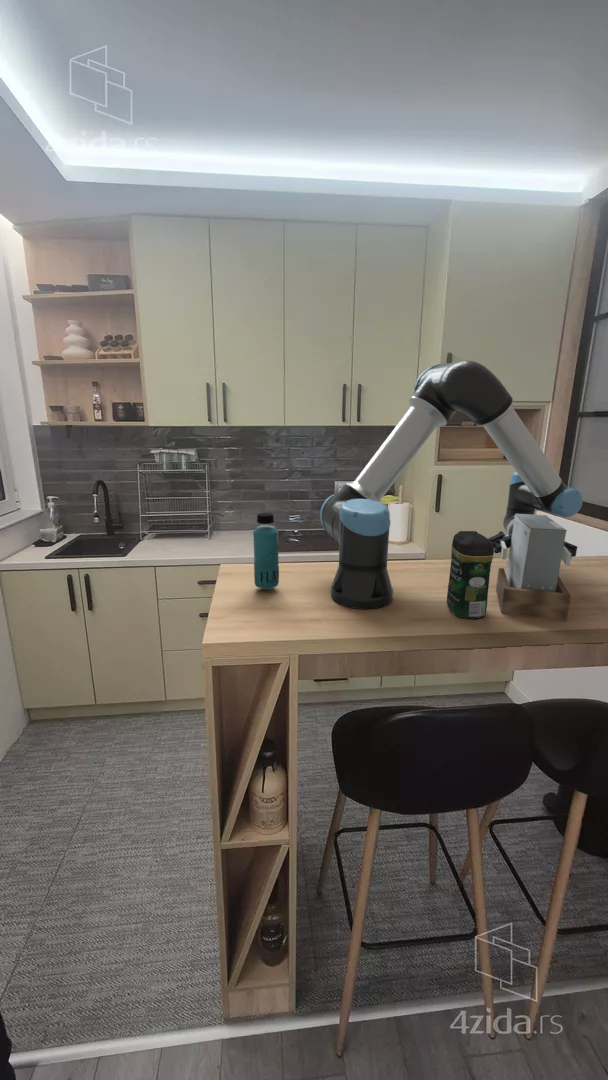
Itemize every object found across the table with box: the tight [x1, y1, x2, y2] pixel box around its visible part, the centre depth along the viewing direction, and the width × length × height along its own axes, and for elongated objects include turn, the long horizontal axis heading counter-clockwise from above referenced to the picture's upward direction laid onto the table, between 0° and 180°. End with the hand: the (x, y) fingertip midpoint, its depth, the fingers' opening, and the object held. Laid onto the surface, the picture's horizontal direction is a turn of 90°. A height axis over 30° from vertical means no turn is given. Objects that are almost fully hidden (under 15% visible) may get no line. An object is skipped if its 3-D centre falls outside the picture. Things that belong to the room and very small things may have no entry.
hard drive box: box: [505, 514, 567, 592], centre depth 110 cm, size 16×8×20 cm, turn 168°
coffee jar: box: [446, 530, 495, 620], centre depth 104 cm, size 10×8×19 cm
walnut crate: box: [495, 567, 572, 622], centre depth 109 cm, size 13×14×6 cm
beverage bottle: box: [252, 512, 280, 590], centre depth 115 cm, size 6×7×20 cm
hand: (536, 556), depth 107 cm, fingers open, 13 cm apart
